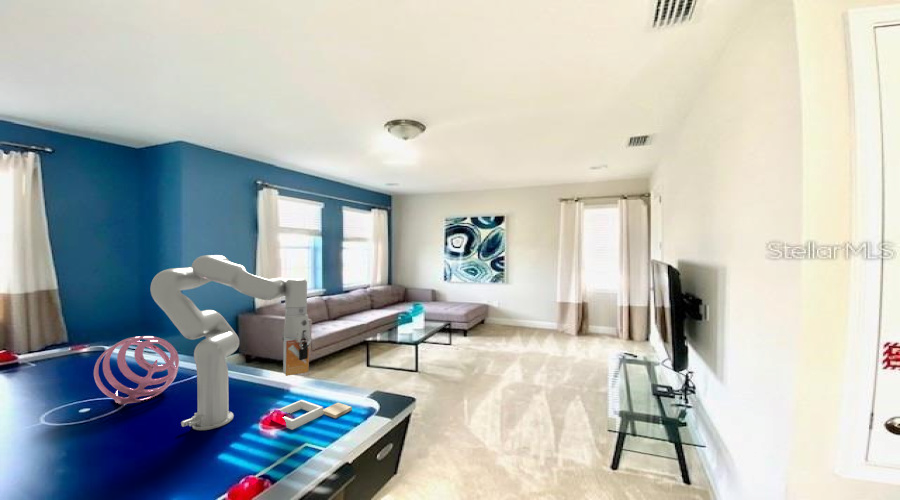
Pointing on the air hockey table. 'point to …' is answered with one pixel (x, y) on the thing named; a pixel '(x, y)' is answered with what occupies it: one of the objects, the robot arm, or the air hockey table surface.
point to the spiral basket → (142, 363)
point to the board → (336, 410)
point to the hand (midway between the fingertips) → (295, 357)
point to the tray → (312, 414)
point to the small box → (293, 358)
